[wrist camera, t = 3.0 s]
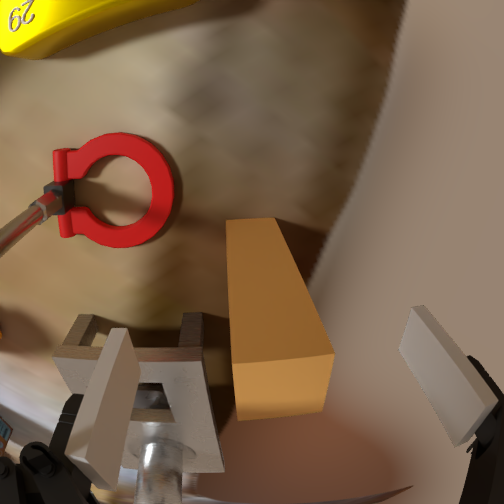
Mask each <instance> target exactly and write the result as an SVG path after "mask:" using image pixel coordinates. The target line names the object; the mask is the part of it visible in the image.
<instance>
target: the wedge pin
mask: <svg viewBox="0 0 504 504" xmlns="http://www.w3.org/2000/svg"><path fill="white" fill-rule="evenodd" d="M226 244H227V271H228V295H229V316H230V336H231V355H232V369H233V380H234V390H235V401H236V411H237V420H238V421H246V420H259V419H270V418H279V417H287V416H296V415H303V414H309V413H316V412H322V409H323V405H324V401H325V397H326V393H327V389H328V384H329V379H330V375H331V371H332V366H333V361H334V356H335V352H334V350H333V348H332V345H331V343H330V340H329V338H328V336H327V333H326V331H325V329H324V326H323V324H322V322H321V320H320V317H319V315H318V313H317V310H316V308H315V306H314V304H313V301H312V299H311V297H310V295H309V292H308V290H307V288H306V286H305V283H304V281H303V279H302V277H301V274H300V272H299V270H298V268H297V266H296V263H295V261H294V259H293V257H292V255H291V252H290V250H289V248H288V246H287V244H286V242H285V239H284V237H283V235H282V233H281V231H280V229H279V227H278V224H277V222H276V220H275V218H252V219H232V220H226Z"/></svg>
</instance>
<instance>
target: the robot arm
mask: <svg viewBox="0 0 504 504" xmlns="http://www.w3.org/2000/svg"><path fill="white" fill-rule="evenodd" d="M398 350H399V351H400V353H401V355H402V357H403V358H404V360H405V361H406V363H407V365H408V366H409V368H410V369H411V371H412V373H413V374H414V376H415V378H416V379H417V381H418V383H419V384H420V386H421V388H422V390H423V391H424V393H425V395H426V396H427V398H428V400H429V402H430V403H431V405H432V407H433V409H434V410H435V412H436V414H437V415H438V417H439V419H440V421H441V423H442V424H443V426H444V428H445V430H446V432H447V434H448V436H449V437H450V439H451V441H452V443H453V445H454V447H457V446H459V445H461V444H463V443H465V442H467V441H468V440H469V439H470V438H471V437H472V436H473V434H474V433H475V435H476V437H477V438H476V439H475V441H474V442H473V443H472V444H471V445H470V446H469V448H468V449H467V451H466V452H467V453H468V452H469V451H470V450H471V449H472V448H473V451H472V452H471V454H472V455H471V460H470V464H469V468H468V473H467V477H466V480H465V484H464V488H463V492H462V495H461V498H460V502H459V504H504V394H503V393H502V391H501V390H500V389H499V387H498V386H497V385H496V383H495V382H494V381H493V379H492V378H491V377H489V374H488V373H487V372H486V371H485V369H484V368H483V366H482V365H481V364H480V363H479V361H478V360H476V359H475V358H473V357H472V356H470V355H469V356H467V357H466V356H465V354H464V353H463V352H462V351H461V349H460V348H459V347H458V346H457V344H456V343H455V342H454V341H453V339H452V338H451V337H450V336H449V335H448V333H447V332H446V331H445V330H444V328H443V327H442V326H441V325H440V324H439V322H438V321H437V320H436V319H435V318H434V317H433V316H432V314H431V313H430V312H429V311H428V310H427V308H426V307H425V306H424V305H423V306H416V307H411V311H410V315H409V317H408V321H407V324H406V327H405V331H404V334H403V337H402V340H401V343H400V346H399V349H398ZM140 375H141V369H140V366H139V363H138V360H137V357H136V354H135V351H134V348H133V345H132V342H131V339H130V336H129V332H128V329H127V328H111V331H110V333H109V335H108V338H107V340H106V342H105V345H104V347H103V349H102V352H101V354H100V356H99V359H98V361H97V364H96V366H95V369H94V371H93V374H92V376H91V379H90V381H89V384H88V387H87V389H86V392H85V395H84V394H76V393H73V395H72V396H71V397H70V398H69V399H68V400H67V401H66V403H65V405H64V408H63V410H62V414H61V415H60V418H59V423H57V426H56V429H55V431H54V434H53V437H52V440H51V442H50V445H49V448H48V446H47V445H45V444H43V443H42V442H32V443H29V444H27V445H26V446H24V448H23V449H22V451H21V453H20V457H19V458H20V464H15V463H14V462H13V461H12V460H11V459H9V458H7V457H2V456H1V457H0V504H99V502H98V501H97V499H96V497H95V496H94V494H93V492H92V491H91V490H90V488H91V483H93V484H94V485H95V486H96V487H97V488H99V489H104V490H110V491H116V489H117V483H118V477H119V471H120V466H121V461H122V455H123V450H124V445H125V440H126V436H127V431H128V426H129V422H130V417H131V413H132V408H133V404H134V400H135V396H136V391H137V387H138V383H139V379H140Z"/></svg>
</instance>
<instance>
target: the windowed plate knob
mask: <svg viewBox="0 0 504 504" xmlns="http://www.w3.org/2000/svg"><path fill="white" fill-rule="evenodd" d="M97 331H98V326H97V323H96V321H95V318H94V315H78V317H77V319H76V320H75V322H74V324H73V326H72V327H71V329H70V331H69V333H68V335H67V337H66V338H65V340H64V342H63V344H62V345H58V346H57V348H56V350H55V352H54V354H53V356H52V358H53V360H54V362H55V364H56V366H57V368H58V370H59V372H60V373H61V375H62V377H63V379H64V381H65V382H66V384H67V386H68V388H69V389H70V391H71V393H72V394H73V393H76V394H84V395H85V392H86V389H87V387H88V384H89V381H90V379H91V376H92V374H93V371H94V369H95V366H96V364H97V361H98V359H99V356H100V354H101V352H102V349H103V347H91V344H92V342H93V339H94V337H95V335H96V333H97ZM203 338H204V323H203V316H202V312H201V313H183V318H182V324H181V331H180V338H179V345H178V347H175V348H134V351H135V354H136V357H137V360H138V363H139V366H140V369H141V375H140V379H139V382H143V383H162V385H138V387H137V391H136V396H135V400H134V404H133V408H132V413H131V417H130V422H129V426H128V431H127V436H126V440H125V445H124V450H123V455H122V461H121V465H122V467H123V468H129V469H138V472H137V480H136V488H135V497H134V504H182V472H190V473H208V472H210V473H212V472H225V470H224V469H225V468H224V459H223V454H222V450H221V445H220V440H219V436H218V431H217V426H216V421H215V416H214V411H213V406H212V401H211V395H210V390H209V385H208V379H207V373H206V368H205V362H204V356H203Z"/></svg>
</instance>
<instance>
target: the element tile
mask: <svg viewBox="0 0 504 504" xmlns="http://www.w3.org/2000/svg"><path fill="white" fill-rule="evenodd" d="M197 1H199V0H0V51H1V53H2V54H4V55H6V56H10V57H18V58H24V59H31V60H39V59H43V58H46V57H48V56H50V55H52V54H54V53H56V52H58V51H60V50H63V49H65V48H67V47H69V46H71V45H73V44H76V43H78V42H80V41H82V40H85V39H87V38H90V37H92V36H94V35H97V34H99V33H102V32H105V31H107V30H110V29H113V28H115V27H118V26H121V25H124V24H127V23H130V22H133V21H136V20H139V19H143V18H146V17H149V16H153V15H156V14H160V13H164V12H168V11H172V10H176V9H180V8H184V7H187V6H189V5H192V4H194V3H196V2H197Z"/></svg>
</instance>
